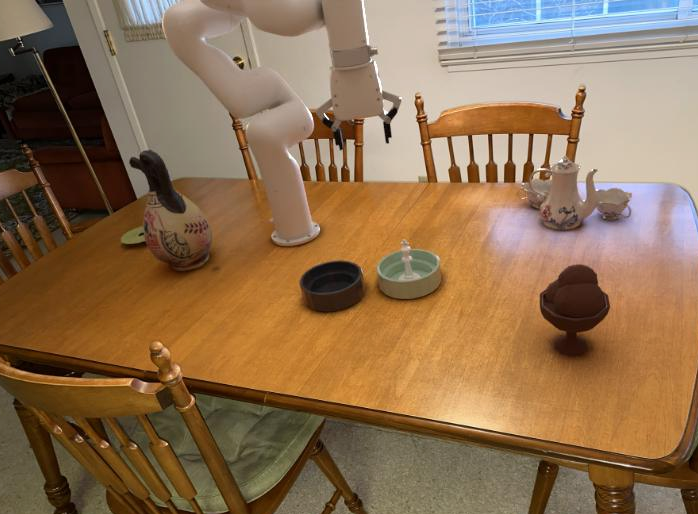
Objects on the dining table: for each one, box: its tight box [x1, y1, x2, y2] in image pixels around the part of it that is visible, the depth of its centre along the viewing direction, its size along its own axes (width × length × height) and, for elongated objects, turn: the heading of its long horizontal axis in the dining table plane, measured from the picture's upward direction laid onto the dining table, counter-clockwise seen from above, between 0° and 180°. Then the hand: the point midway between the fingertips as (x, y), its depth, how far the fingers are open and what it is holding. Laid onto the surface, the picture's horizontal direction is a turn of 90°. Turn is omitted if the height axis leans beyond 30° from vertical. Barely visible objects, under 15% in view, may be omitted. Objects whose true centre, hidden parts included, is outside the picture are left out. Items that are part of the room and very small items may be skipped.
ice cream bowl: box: [539, 263, 611, 357], centre depth 90 cm, size 11×11×15 cm
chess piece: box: [398, 238, 420, 280], centre depth 114 cm, size 5×5×10 cm
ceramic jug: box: [128, 149, 213, 272], centre depth 130 cm, size 17×15×30 cm
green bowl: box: [375, 248, 442, 300], centre depth 116 cm, size 13×13×4 cm
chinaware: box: [516, 155, 633, 231], centre depth 128 cm, size 28×17×17 cm, turn 58°
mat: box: [120, 225, 146, 245], centre depth 154 cm, size 11×11×2 cm
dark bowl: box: [299, 260, 366, 312], centre depth 116 cm, size 13×13×4 cm
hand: (364, 144), depth 115 cm, fingers open, 9 cm apart
